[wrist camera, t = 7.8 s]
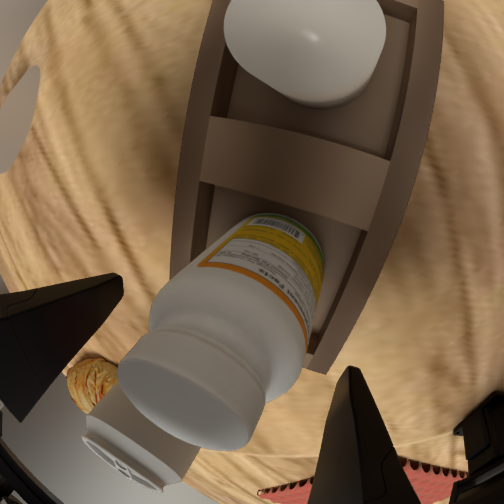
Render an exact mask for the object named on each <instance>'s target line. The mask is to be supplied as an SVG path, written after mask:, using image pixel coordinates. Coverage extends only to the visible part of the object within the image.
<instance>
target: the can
mask: <svg viewBox="0 0 504 504" xmlns="http://www.w3.org/2000/svg"><path fill="white" fill-rule="evenodd" d="M86 419H87V429H88V433H87V434H86V435H82V440H83V441H84V442H85V444H86V445H87V446H88V447H89V448H90V449H91V450H92V451H93V452H94V453H95V454H97V455H98V456H99V457H100V458H101V459H103V460H104V461H105V462H106V463H107V464H109V465H110V466H112V467H113V468H114V469H116V470H117V471H118V472H119V473H121V474H122V475H123V476H125V477H127V478H128V479H131V480H133V481H134V482H136V483H138V484H140V485H142V486H143V487H145V488H147V489H150V490H152V491H154V492H157V493H163V487H164V486H166V485H170V484H175V483H179V482H181V481H182V479H183V478H184V476H185V474H186V473H187V471H188V469H189V467H190V466H191V464H192V462H193V461H194V459H195V457H196V455H197V454H198V452H199V450H200V448H201V447H199V446H196V445H193V444H190V443H187V442H185V441H183V440H181V439H178V438H176V437H174V436H173V435H171V434H169V433H167V432H166V431H164V430H163V429H161V428H160V427H158V426H157V425H155V424H154V423H153V422H151V421H150V420H149V419H148V418H147V417H145V416H144V415H143V414H142V413H141V412H140V411H139V410H138V409H137V408H136V407H135V406H134V405H133V404H132V402H131V401H130V400H129V398H128V397H127V396H126V394H125V393H124V391H123V389H122V387H121V385H120V383H119V380H118V381H117V382H116V384H115V385H114V386H113V387H112V388H111V389H110V390H109V391H108V392H107V393H106V395H105V396H104V397H103V398H102V399H101V400H100V401H99V402H98V403H97V404H96V406H95V407H94V408H93V409H92V410H91V411H90V412H89V413H88V414H87V418H86Z"/></svg>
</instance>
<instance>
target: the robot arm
mask: <svg viewBox="0 0 504 504" xmlns="http://www.w3.org/2000/svg"><path fill="white" fill-rule="evenodd" d="M123 295H124V289H123V278H122V277H121V276H120V275H118V274H116V273H109V274H104V275H99V276H94V277H89V278H84V279H79V280H75V281H70V282H65V283H60V284H55V285H50V286H46V287H41V288H39V289H38V288H36V289H31V290H26V291H21V292H14V293H7V294H0V409H1V407H3V406H4V405H5V406H6V407H7V409H8V410H9V411H10V412H11V413H12V414H13V415H14V417H15V418H16V419H17V420H18V421H19V422H20V423H21V422H22V421H23V420H24V419H25V417H26V416H27V415H28V413H29V412H30V411H31V409H32V408H33V407H34V405H35V404H36V403H37V402H38V400H39V399H40V398H41V397H42V395H43V394H44V393H45V391H46V390H47V389H48V387H49V386H50V385H51V384H52V382H53V381H54V380H55V379H56V378H57V376H58V375H59V374H60V373H61V372H62V370H63V369H64V368H65V367H66V366H67V364H68V363H69V362H70V361H71V360H72V358H73V357H74V356H75V355H76V354H77V353H78V351H79V350H80V349H81V348H82V347H83V346H84V345H85V343H86V342H87V341H88V340H89V339H90V338H91V337H92V336H93V334H94V333H95V332H96V331H97V330H98V329H99V328H100V327H101V325H102V324H103V323H104V322H105V320H106V319H107V318H108V316H109V315H110V314H111V312H112V311H113V310H114V308H115V307H116V306H117V304H118V303H119V302H120V300H121V299H122V297H123ZM453 435H457V436H463V437H464V446H465V455H466V460H468V472H469V475H470V476H468V477H466V478H464V479H462V480H458V481H456V482H454V483H453V488H452V491H451V496H450V501H449V504H504V392H498V391H497V392H494V393H493V394H491V395H490V396H489V397H488V399H487V400H486V401H485V402H484V403H483V404H482V405H481V406H480V407H479V408H477V409H476V410H475V411H474V412H473V413H472V414H471V415H470V416H469V417H468V418H467V419H466V420H465V421H463V422H462V423H461V424H460V425H459V426H458V427H457V428H455V429H454V430H453ZM1 436H2V412H1V410H0V504H22V503H21V502H20V501H19V500H18V499H17V498H15V497H14V496H13V495H11V493H12V492H13V490H15V491H16V492H17V493H18V494H19V495H20V496H21V497H22V499H23V500H24V501H25V502H26V503H28V504H64V503H63V502H62V501H61V500H59V499H58V498H57V497H56V496H55V495H54V494H53V493H52V492H50V491H49V490H48V489H47V488H46V487H45V486H44V485H43V484H42V483H41V482H40V481H39V480H38V479H37V478H36V477H35V476H34V475H33V474H32V473H31V472H30V471H29V470H28V469H27V468H26V467H25V466H24V464H23V463H22V462H21V461H20V460H19V459H18V458H17V457H16V455H15V454H14V453H13V452H12V451H11V449H10V448H9V447H8V446H7V445H6V443H5V442H4V441H3V439H2V438H1ZM307 504H421V502H420V500H419V498H418V496H417V494H416V492H415V490H414V488H413V486H412V485H411V483H410V481H409V479H408V477H407V475H406V473H405V471H404V469H403V467H402V464H401V462H400V460H399V457H398V455H397V453H396V450H395V448H394V447H393V443H392V441H391V438H390V436H389V433H388V431H387V429H386V426H385V424H384V422H383V419H382V417H381V415H380V412H379V410H378V408H377V405H376V403H375V401H374V399H373V396H372V394H371V392H370V390H369V388H368V385H367V383H366V381H365V379H364V377H363V374H362V372H361V370H360V369H359V368H357V367H354V366H348V367H347V368H346V369H345V371H344V372H343V374H342V375H341V377H340V378H339V380H338V382H337V384H336V388H335V392H334V395H333V399H332V402H331V406H330V409H329V413H328V416H327V420H326V424H325V429H324V434H323V439H322V444H321V449H320V454H319V458H318V463H317V467H316V472H315V476H314V480H313V484H312V488H311V492H310V495H309V499H308V503H307Z"/></svg>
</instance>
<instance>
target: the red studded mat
mask: <svg viewBox="0 0 504 504" xmlns="http://www.w3.org/2000/svg"><path fill="white" fill-rule="evenodd" d="M418 464H419V466H418V469H417V470H413V469H412V468H411V466H410V459H409V460H407V458H406V465H405V466H404V467H403V469H404V471H405V473H406V475H407V477H408V479H409V481H410V483H411V485H412V486H413V488H414V490H415V492H416V494H417V496H418V498H419V500H420V502H421V504H432V503H433V502H436V501H442V500H443V499H444V498H446V497H449V496H451V491H452V488H453V483H454V482H456V481H458V480H462V478H461V477H460V475H459V471H457V470H456V472H457V475H456V477H455V478H454V477H453V476H452V474H451V469H450V470H449V469H448V471H449V473H448V475H447V476H444V474H443V471H442V468H443V467H442V468H440V467H439V469H440V471H439V473H438V475H436V474H435V473H434V472H433V465H431V466H430V465H429V467H430V469H429V471H428V473H425V472H424V471H423V469H422V463H419V462H418ZM466 477H467V475H466V472H465V471H464V477H463V479H464V478H466ZM311 478H312V477H311ZM311 478H308V480H307V483H306V484H305V485H304V486H303V487H300V482H301V480H300V481H297V484H296V486H295V487H294V488H293V489H290V484H291V483H290V484H289V483H288V485H287V487H286V489H285V490H284V491H281V487H282V485H281V486H279V488H278V490H277V491H276V492H275V493H273V488H274V487H273V488H272V487H271V489H270V491H269V493H268V494H265V491H266V489H264V490H263V492H262V493H261V495H258V492H259V491H260V490H258V492H257V495H258V496H259V497H260V498H262V499H269V500H271V501H272V502H274V503H282V504H307V503H308V499H309V495H310V492H311V488H312V484H311V482H310V481H311Z"/></svg>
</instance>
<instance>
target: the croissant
mask: <svg viewBox="0 0 504 504" xmlns="http://www.w3.org/2000/svg"><path fill="white" fill-rule="evenodd" d="M66 378H67V384H68V389H69V391H70V393H71V398H72V400H73V401H74V402H75V403H76V405H77V406H78V407H79V408H80V409H81V410H82V411H84V412H85V413H86V414H88V413H89V412H90V411H91V410H92V409H93V408H94V407H95V406H96V404H97V403H98V402H99V401H100V400H101V399H102V398H103V397H104V396H105V395H106V393H107V392H108V391H109V390H110V389H111V388H112V387H113V386H114V385H115V384H116V382H117V381H118V376H117V367H116V366H114V365H113V364H111V363H109V362H105V359H102V358H96V359H93V358H90V359H85V360H83V361H82V362H79V363H77V364H75V365H74V366H73V367H71V368H69V370H68V372H67V376H66Z"/></svg>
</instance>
